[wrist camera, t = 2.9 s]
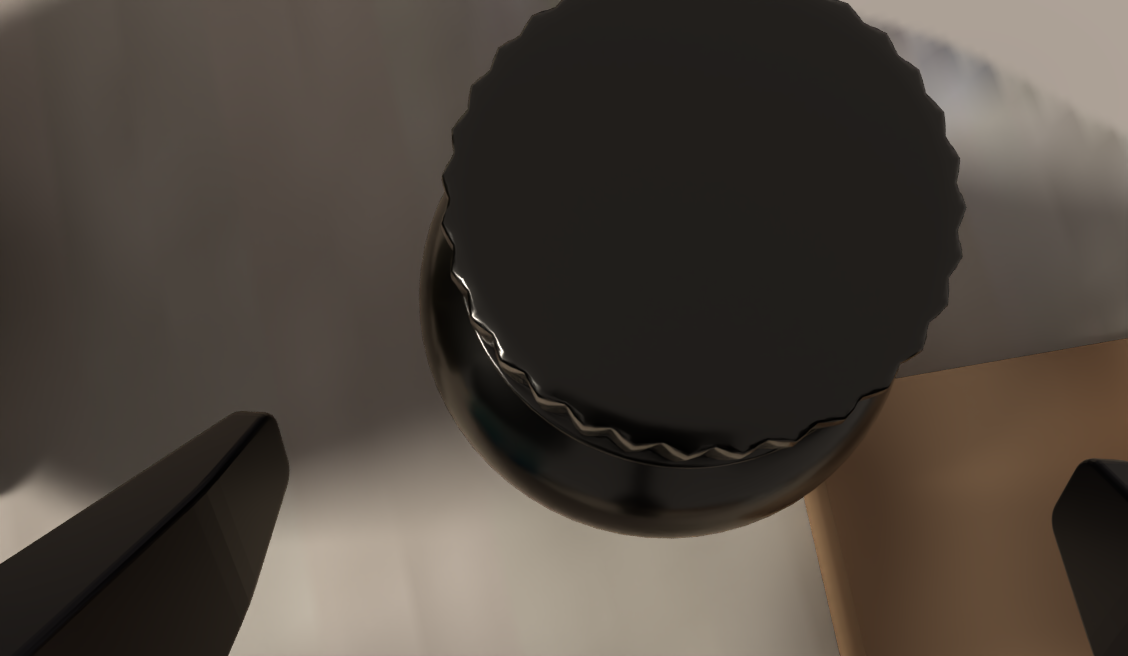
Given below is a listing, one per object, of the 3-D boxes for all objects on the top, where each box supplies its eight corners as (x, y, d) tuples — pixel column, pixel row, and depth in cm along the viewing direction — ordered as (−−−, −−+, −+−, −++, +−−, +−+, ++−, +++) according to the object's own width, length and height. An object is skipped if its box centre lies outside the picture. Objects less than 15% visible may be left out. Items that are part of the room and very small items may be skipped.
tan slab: (897, 905, 16) (939, 967, 14) (782, 402, 18) (805, 394, 16) (1406, 821, 16) (1522, 871, 14) (1229, 324, 18) (1308, 306, 16)
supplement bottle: (532, 541, 18) (399, 687, 6) (465, 277, 19) (246, -38, 7) (807, 464, 18) (1226, 456, 6) (720, 206, 19) (919, -224, 7)
